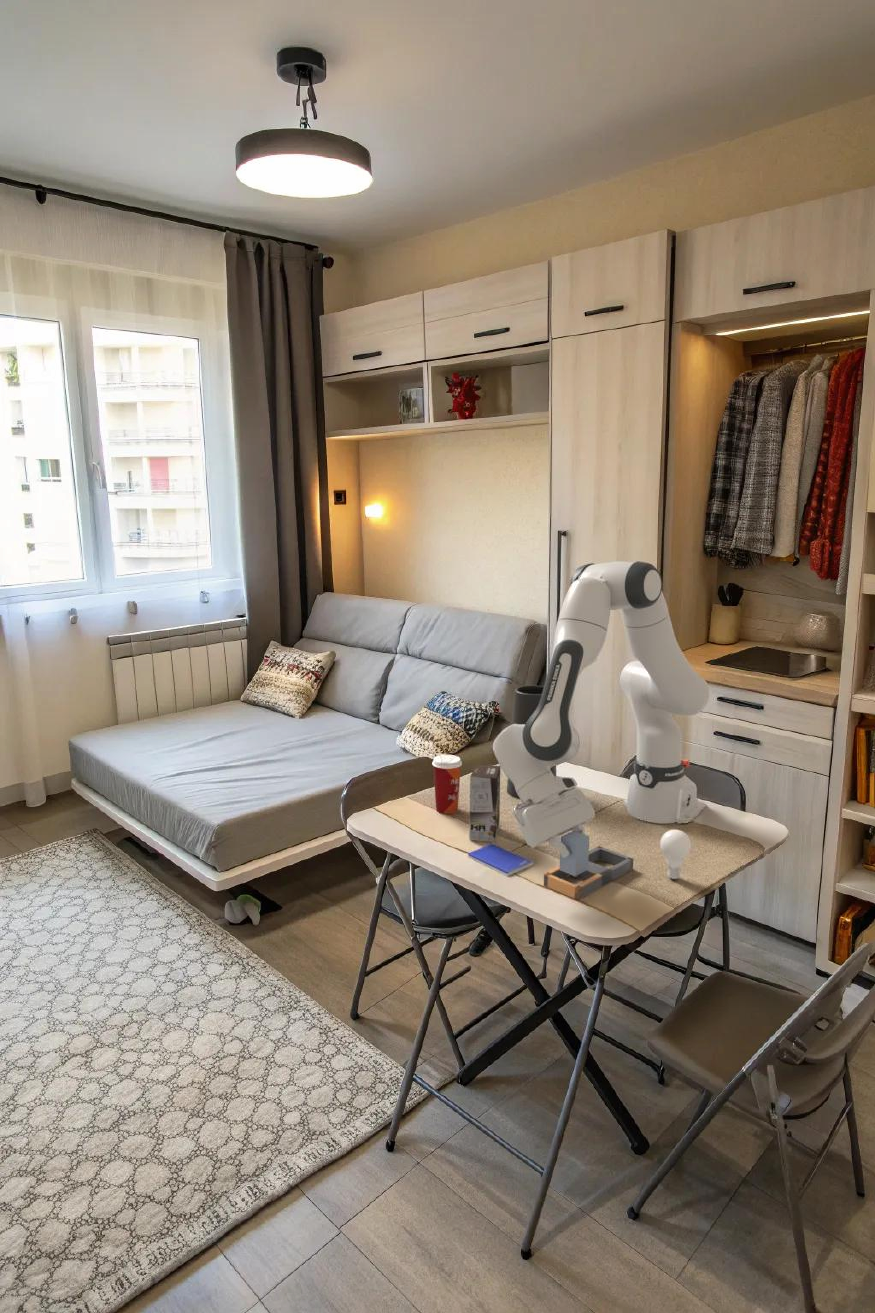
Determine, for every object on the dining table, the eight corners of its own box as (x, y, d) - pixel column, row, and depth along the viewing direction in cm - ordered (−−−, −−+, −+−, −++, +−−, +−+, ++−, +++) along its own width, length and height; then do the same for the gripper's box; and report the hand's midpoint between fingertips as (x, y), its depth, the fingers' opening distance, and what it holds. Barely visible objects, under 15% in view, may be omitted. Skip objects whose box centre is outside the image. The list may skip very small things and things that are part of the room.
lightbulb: (693, 878, 179) (697, 830, 177) (680, 888, 175) (683, 839, 172) (666, 869, 183) (669, 822, 181) (652, 879, 179) (655, 831, 177)
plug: (572, 863, 178) (573, 830, 177) (587, 869, 175) (589, 836, 174) (559, 870, 175) (560, 836, 173) (574, 876, 172) (576, 842, 171)
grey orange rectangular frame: (598, 856, 190) (599, 845, 189) (632, 869, 183) (633, 857, 183) (543, 885, 176) (544, 873, 175) (578, 900, 170) (578, 887, 169)
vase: (564, 798, 225) (568, 694, 219) (517, 803, 221) (519, 697, 215) (545, 781, 237) (548, 682, 231) (500, 785, 234) (501, 685, 228)
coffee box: (495, 843, 197) (496, 778, 193) (468, 840, 198) (469, 776, 195) (500, 827, 205) (501, 765, 202) (474, 825, 207) (475, 763, 203)
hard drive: (533, 860, 185) (493, 843, 194) (507, 871, 180) (467, 853, 189) (532, 867, 186) (493, 849, 195) (507, 878, 180) (467, 859, 189)
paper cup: (459, 816, 212) (460, 764, 209) (429, 814, 213) (429, 762, 210) (463, 805, 220) (463, 754, 217) (434, 803, 221) (434, 753, 218)
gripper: (518, 800, 169) (555, 860, 165) (578, 776, 184) (614, 831, 179) (501, 814, 174) (536, 873, 169) (561, 790, 188) (595, 844, 183)
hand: (577, 851), depth 174 cm, fingers closed on plug, 4 cm apart
